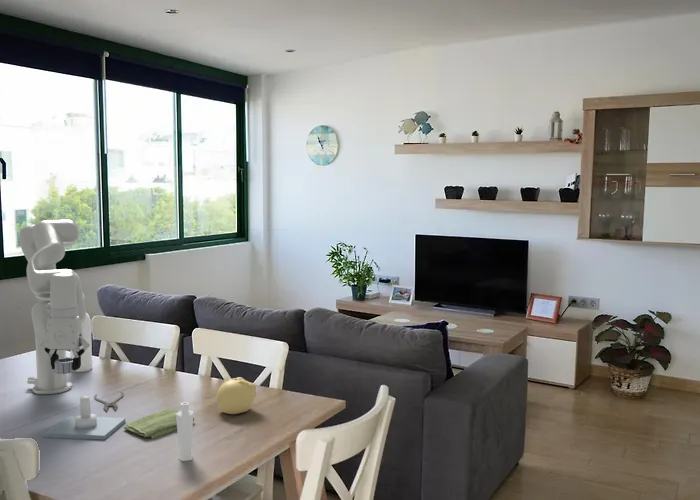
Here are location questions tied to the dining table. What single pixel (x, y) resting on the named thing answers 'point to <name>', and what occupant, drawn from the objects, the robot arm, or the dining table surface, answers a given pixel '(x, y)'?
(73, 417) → the piston block
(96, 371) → the dining table surface
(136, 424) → the washcloth
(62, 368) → the ring
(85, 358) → the bottle
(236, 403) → the pale yellow round lump
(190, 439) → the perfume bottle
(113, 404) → the pliers
